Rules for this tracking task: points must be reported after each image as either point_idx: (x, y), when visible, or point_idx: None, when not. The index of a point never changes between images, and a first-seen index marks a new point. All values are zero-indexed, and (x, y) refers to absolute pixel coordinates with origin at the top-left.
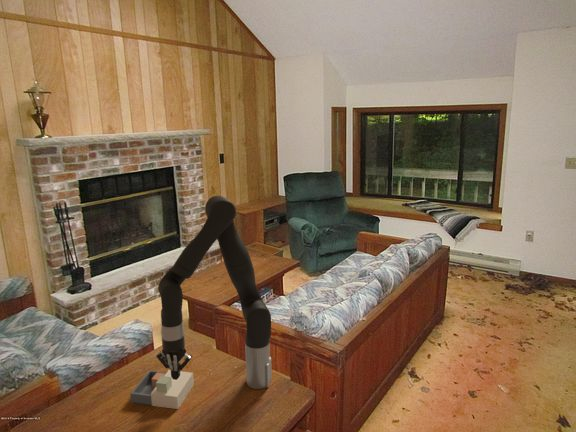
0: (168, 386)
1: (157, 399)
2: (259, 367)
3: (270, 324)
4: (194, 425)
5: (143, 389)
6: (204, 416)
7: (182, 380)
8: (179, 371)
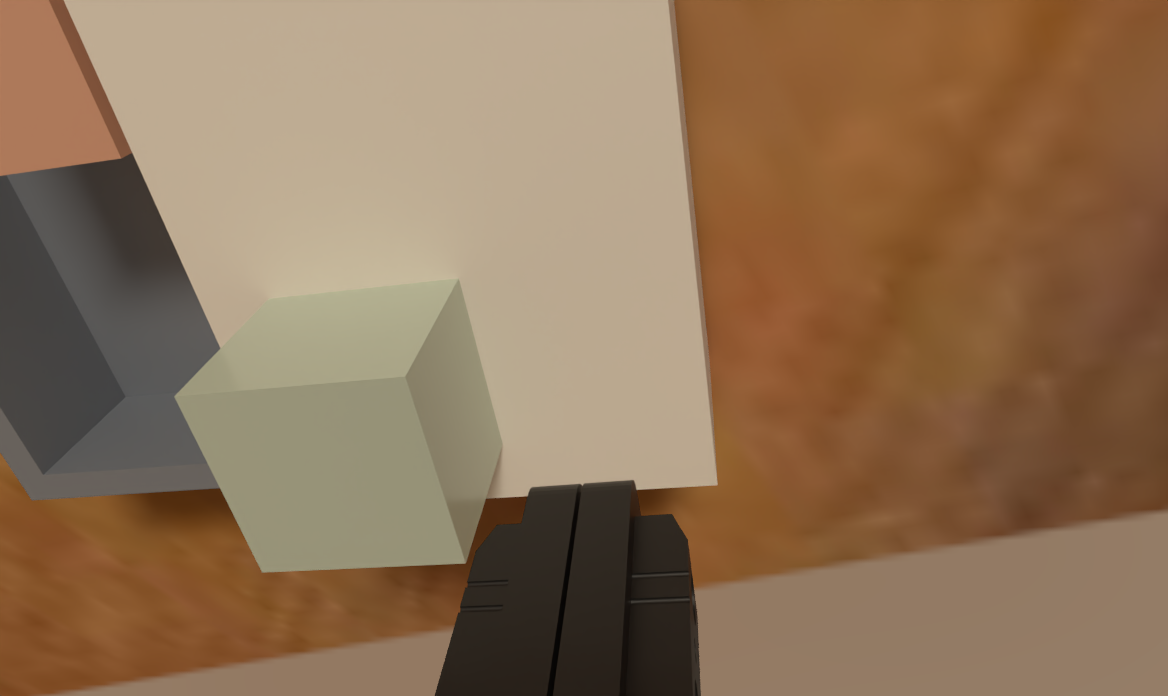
0: (472, 440)
1: None
2: None
3: None
4: (1023, 511)
5: (15, 192)
6: (1114, 374)
7: (550, 76)
8: (695, 673)
